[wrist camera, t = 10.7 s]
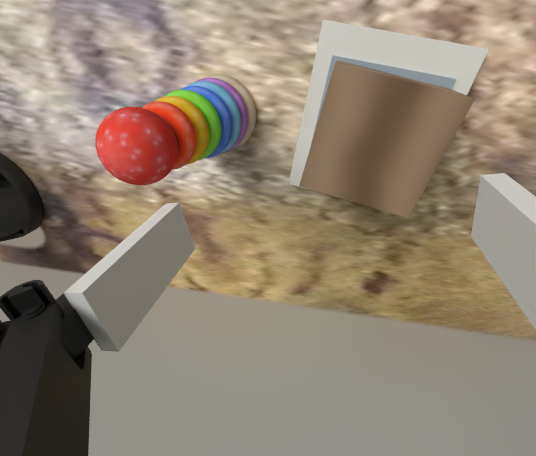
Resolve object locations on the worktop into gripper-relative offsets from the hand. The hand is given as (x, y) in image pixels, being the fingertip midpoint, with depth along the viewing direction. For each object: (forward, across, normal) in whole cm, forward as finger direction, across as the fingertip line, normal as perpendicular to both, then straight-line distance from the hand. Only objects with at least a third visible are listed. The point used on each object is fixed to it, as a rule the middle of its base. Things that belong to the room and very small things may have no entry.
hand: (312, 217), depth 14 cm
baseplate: (+22, +4, -1) cm, 22 cm away
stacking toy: (+22, -12, +3) cm, 25 cm away
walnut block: (+20, +4, -1) cm, 20 cm away
